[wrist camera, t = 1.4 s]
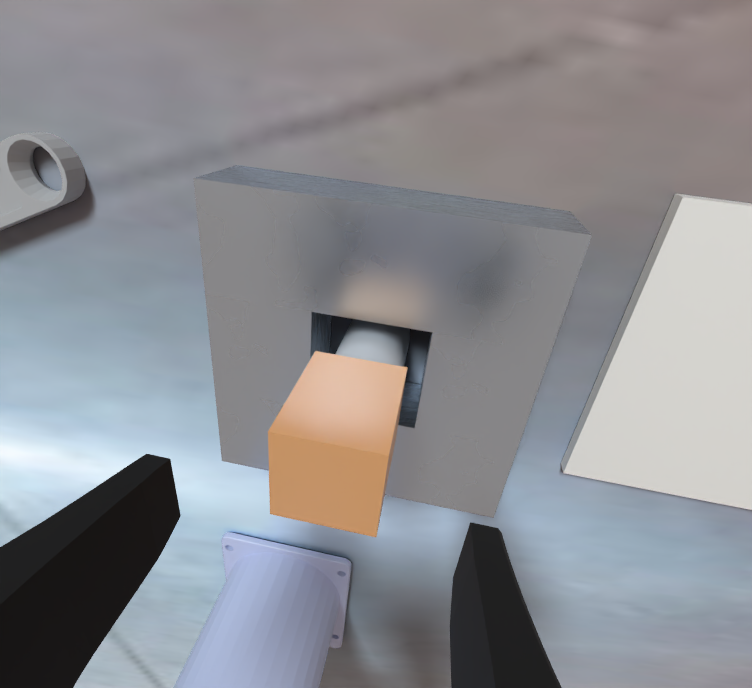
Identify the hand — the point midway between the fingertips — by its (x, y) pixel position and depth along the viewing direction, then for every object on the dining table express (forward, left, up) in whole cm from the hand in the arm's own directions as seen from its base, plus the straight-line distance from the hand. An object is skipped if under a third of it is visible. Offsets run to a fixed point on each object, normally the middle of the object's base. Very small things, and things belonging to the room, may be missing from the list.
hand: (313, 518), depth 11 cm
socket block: (0, 0, -10) cm, 10 cm away
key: (0, 0, -10) cm, 10 cm away
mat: (+1, -15, -10) cm, 18 cm away
